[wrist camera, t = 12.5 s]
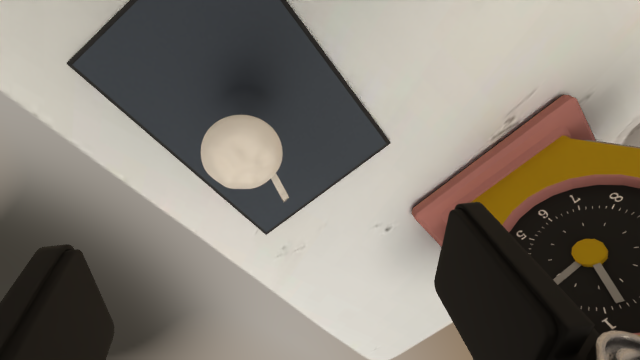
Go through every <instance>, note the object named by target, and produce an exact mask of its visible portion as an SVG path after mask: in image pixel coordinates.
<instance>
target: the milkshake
mask: <svg viewBox="0 0 640 360" xmlns="http://www.w3.org/2000/svg"><path fill="white" fill-rule="evenodd" d="M282 156H283V151H282V145H281V141H280V139H279V136H278V134H277V132H276V129H275V127H274V125H273V123H272V120H271V118H270V115H269V112H268V109H267V106H266V103H265V100H264V97H263V96H262V95H260V94H259V93H258V92H257V91H255V90H254V89H253V88H248V87H237V88H235V89H234V90H232V91H230V92H229V93H227V94H226V95H225V97H224V100H223V102H222V104H221V106H220V108H219V110H218V112H217V115H216V116H215V118H214V120H213V122H212V123H211V125H210V127H209V128H208V130H207V132H206V134H205V136H204V138H203V140H202V144H201V160H202V164H203V167H204V169H205V170H206V172H207V173H208V174H209V175H210V176H211V177H212V178H213V179H214V180H216V181H217V182H219V183H220V184H222V185H223V186H225V187H227V188H231V189H252V188H256V187H259V186H261V185H263V184H264V183H266V182H267V181H268V180H270V179H271V180H272V182H273V183H274V185H275V187H276V189H277V191H278V193H279V195H280V197H281V198H282V200H283V202H285V201H286V200H287V199H288V198H289V196H288V194H287V192H286V190H285V188H284V187H283V185H282V183H281V181H280V179H279V178H278V176H277V174H276V172H277V170H278V169H279V167H280V165H281V162H282Z"/></svg>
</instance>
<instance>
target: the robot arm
mask: <svg viewBox="0 0 640 360" xmlns="http://www.w3.org/2000/svg"><path fill="white" fill-rule="evenodd" d="M434 283H435V289H436V292H437V294H438V296H439V298H440V299H441V301H442V303H443V305H444V307H445V308H446V310H447V312H448V314H449V316H450V317H451V319H452V321H453V323H454V324H455V326H456V328H457V330H458V331H459V333H460V335H461V337H462V339H463V341H464V342H465V344H466V346H467V348H468V350H469V351H470V353H471V355H472V357H473V359H474V360H640V336H638V335H636V334H632V333H629V332H625V331H613V330H612V331H608V332H604V333H603V334H601V335H600V334H599V333H598V332H597V331H596V330H595V329H594V326H595V324H594V323H593V322H592V321H591V320H590V319H589V318H588V317H587V316H586V315H585V313H584V312H583V311H582V310H581V309H580V308H579V307H578V306H577V305H576V304H575V303H574V302H573V301H572V300H571V298H570V297H569V296H568V295H567V294H566V293H565V292H564V291H563V290H562V289H561V288H560V287H559V286H558V285H557V283H556V282H555V281H554V280H553V279H552V278H551V277H550V276H549V275H548V274H547V273H546V272H545V271H544V270H543V268H542V267H541V266H540V265H539V264H538V263H537V262H536V261H535V260H534V259H533V258H532V257H531V256H530V255H529V253H528V252H527V251H526V250H525V249H524V248H523V247H522V246H521V245H520V244H519V243H518V242H517V241H516V240H515V238H514V237H513V236H512V235H511V234H510V233H509V232H508V231H507V230H506V229H505V228H504V227H503V226H502V225H501V223H500V222H499V221H498V220H497V219H496V218H495V217H494V216H493V215H492V214H491V213H490V212H489V211H488V210H487V208H486V207H485V206H484V205H483V204H482V203H480V202H471V203H461V204H457V205H456V206H455V209H454V210H451V211H450V213H449V216H448V221H447V225H446V230H445V234H444V239H443V243H442V248H441V252H440V257H439V262H438V266H437V271H436V275H435V281H434ZM113 336H114V324H113V321H112V319H111V316H110V314H109V312H108V310H107V307H106V305H105V303H104V301H103V298H102V296H101V294H100V292H99V289H98V287H97V285H96V283H95V280H94V278H93V276H92V274H91V271H90V269H89V267H88V265H87V262H86V260H85V258H84V256H83V253H82V252H81V251H80V250H74V248H73V247H72V246H71V245H57V246H48V247H42V248H39V249H38V250H37V251H36V253H35V254H34V256H33V257H32V258H31V260H30V261H29V263H28V264H27V265H26V267H25V268H24V270H23V271H22V273H21V274H20V276H19V277H18V278H17V280H16V281H15V283H14V284H13V286H12V287H11V288H10V290H9V291H8V293H7V294H6V295H5V297H4V298H3V300H2V301H1V303H0V360H106V357H107V354H108V351H109V348H110V345H111V343H112V340H113Z"/></svg>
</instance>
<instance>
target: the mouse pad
mask: <svg viewBox="0 0 640 360" xmlns="http://www.w3.org/2000/svg"><path fill="white" fill-rule="evenodd" d="M67 64H68V65H69V66H70V67H71V68H72V69H73V70H75V71H76V72H77V73H78V74H79V75H80V76H82V77H83V78H84V79H85V80H86V81H87V82H89V83H90V84H91V85H92V86H93V87H94V88H96V89H97V90H98V91H99V92H100V93H101V94H103V95H104V96H105V97H106V98H107V99H108V100H110V101H111V102H112V103H113V104H114V105H115V106H117V107H118V108H119V109H120V110H121V111H122V112H124V113H125V114H126V115H127V116H128V117H129V118H131V119H132V120H133V121H134V122H135V123H136V124H138V125H139V126H140V127H141V128H142V129H143V130H145V131H146V132H147V133H148V134H149V135H150V136H152V137H153V138H154V139H155V140H156V141H157V142H159V143H160V144H161V145H162V146H163V147H164V148H166V149H167V150H168V151H169V152H170V153H171V154H173V155H174V156H175V157H176V158H177V159H178V160H180V161H181V162H182V163H183V164H184V165H185V166H187V167H188V168H189V169H190V170H191V171H192V172H194V173H195V174H196V175H197V176H198V177H199V178H201V179H202V180H203V181H204V182H205V183H206V184H208V185H209V186H210V187H211V188H212V189H213V190H214V191H216V192H217V193H218V194H219V195H220V196H221V197H223V198H224V199H225V200H226V201H227V202H228V203H230V204H231V205H232V206H233V207H234V208H235V209H237V210H238V211H239V212H240V213H241V214H242V215H244V216H245V217H246V218H247V219H248V220H249V221H251V222H252V223H253V224H254V225H255V226H256V227H258V228H259V229H260V230H261V231H262V232H263V233H265V234H268V233H269V232H271V231H272V230H273V229H275V228H276V227H277V226H279V225H280V224H281V223H283V222H284V221H286V220H287V219H288V218H290V217H291V216H292V215H294V214H295V213H296V212H298V211H299V210H300V209H302V208H303V207H305V206H306V205H307V204H309V203H310V202H311V201H313V200H314V199H315V198H317V197H318V196H319V195H321V194H322V193H324V192H325V191H326V190H328V189H329V188H330V187H332V186H333V185H334V184H336V183H337V182H339V181H340V180H341V179H343V178H344V177H345V176H347V175H348V174H349V173H351V172H352V171H353V170H355V169H356V168H358V167H359V166H360V165H362V164H363V163H364V162H366V161H367V160H368V159H370V158H371V157H372V156H374V155H375V154H377V153H378V152H379V151H381V150H382V149H383V148H385V147H386V146H387V145H389V144H390V141H389V140H388V139H387V137H386V136H385V134H384V133H383V132H382V130H381V129H380V128H379V126H378V125H377V124H376V122H375V121H374V119H373V118H372V117H371V115H370V114H369V113H368V111H367V110H366V109H365V107H364V106H363V105H362V103H361V102H360V100H359V99H358V98H357V96H356V95H355V94H354V92H353V91H352V90H351V88H350V87H349V86H348V84H347V83H346V81H345V80H344V79H343V77H342V76H341V75H340V73H339V72H338V71H337V69H336V68H335V66H334V65H333V64H332V62H331V61H330V60H329V58H328V57H327V56H326V54H325V53H324V52H323V50H322V49H321V47H320V46H319V45H318V43H317V42H316V41H315V39H314V38H313V37H312V35H311V34H310V33H309V31H308V30H307V28H306V27H305V26H304V24H303V23H302V22H301V20H300V19H299V18H298V16H297V15H296V13H295V12H294V11H293V9H292V8H291V7H290V5H289V4H288V3H287V1H286V0H130V1H129V2H128V3H127V4H126V5H125V6H124V7H123V8H122V9H121V10H120V11H119V12H118V13H117V14H116V15H115V16H114V17H113V18H112V19H111V20H110V21H109V22H108V23H107V24H106V25H105V26H104V27H103V28H102V29H101V30H100V31H99V32H98V33H97V34H96V35H95V36H94V37H93V38H92V39H91V40H90V41H89V42H88V43H87V44H86V45H85V46H84V47H82V48H81V49H80V50H79V51H78V52H77V53H76V54H75V55H74V56H73V57H72V58H71V59H70V60H69V61H68V62H67ZM237 87H248V88H253V89H254V90H255V91H257V92H258V93H259V94H260V95H262V96H263V97H264V100H265V103H266V106H267V109H268V112H269V115H270V118H271V120H272V123H273V125H274V127H275V129H276V132H277V134H278V136H279V139H280V141H281V145H282V151H283V156H282V162H281V165H280V167H279V169H278V170H277V172H276V174H277V176H278V178H279V179H280V181H281V183H282V185H283V187H284V188H285V190H286V192H287V194H288V196H289V198H288V199H287V200H286V201H285V202H283V200H282V198H281V197H280V195H279V193H278V191H277V189H276V187H275V185H274V183H273V182H272V180H271V179H270V180H268V181H267V182H266V183H264V184H263V185H261V186H259V187H256V188H252V189H231V188H227V187H225V186H223V185H222V184H220V183H219V182H217V181H216V180H214V179H213V178H212V177H211V176H210V175H209V174H208V173H207V172H206V170H205V169H204V167H203V164H202V160H201V144H202V140H203V138H204V136H205V134H206V132H207V130H208V128H209V127H210V125H211V123H212V122H213V120H214V118H215V116H216V115H217V112H218V110H219V108H220V106H221V104H222V102H223V100H224V97H225V95H226V94H227V93H229V92H230V91H232V90H234V89H235V88H237Z"/></svg>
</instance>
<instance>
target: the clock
mask: <svg viewBox="0 0 640 360" xmlns="http://www.w3.org/2000/svg"><path fill="white" fill-rule="evenodd" d="M471 202H480V203H482V204H483V205H484V206H485V207H486V208H487V210H488V211H489V212H490V213H491V214H492V215H493V216H494V217H495V218H496V219H497V220H498V221H499V222H500V223H501V225H502V226H503V227H504V228H505V229H506V230H507V231H508V232H509V233H510V234H511V235H512V236H513V237H514V238H515V240H516V241H517V242H518V243H519V244H520V245H521V246H522V247H523V248H524V249H525V250H526V251H527V252H528V253H529V255H530V256H531V257H532V258H533V259H534V260H535V261H536V262H537V263H538V264H539V265H540V266H541V267H542V268H543V270H544V271H545V272H546V273H547V274H548V275H549V276H550V277H551V278H552V279H553V280H554V281H555V282H556V283H557V285H558V286H559V287H560V288H561V289H562V290H563V291H564V292H565V293H566V294H567V295H568V296H569V297H570V298H571V300H572V301H573V302H574V303H575V304H576V305H577V306H578V307H579V308H580V309H581V310H582V311H583V312H584V313H585V315H586V316H587V317H588V318H589V319H590V320H591V321H592V322H593V323H594V324H595V326H594V329H595V330H596V331H597V332H598V333H599V334H600V335H601V334H603V333H604V332H608V331H612V330H613V331H625V332H629V333H632V334H636V335H638V336H640V147H634V146H627V145H620V144H613V143H606V142H599V141H596V140H595V138H594V135H593V133H592V131H591V129H590V127H589V125H588V123H587V120H586V118H585V116H584V114H583V112H582V110H581V108H580V105H579V103H578V101H577V99H576V98H574V97H572V96H569V95H562V96H561V97H560V98H558V99H557V100H556V101H554V102H553V103H552V104H550V105H549V106H548V107H546V108H545V109H544V110H542V111H541V112H540V113H538V114H537V115H536V116H534V117H533V118H532V119H530V120H529V121H528V122H526V123H525V124H524V125H522V126H521V127H520V128H518V129H517V130H516V131H515V132H513V133H512V134H511V135H509V136H508V137H507V138H505V139H504V140H503V141H501V142H500V143H499V144H497V145H496V146H495V147H493V148H492V149H491V150H489V151H488V152H487V153H485V154H484V155H483V156H481V157H480V158H479V159H477V160H476V161H475V162H473V163H472V164H471V165H469V166H468V167H467V168H465V169H464V170H463V171H461V172H460V173H459V174H457V175H456V176H455V177H453V178H452V179H451V180H449V181H448V182H447V183H446V184H444V185H443V186H442V187H440V188H439V189H438V190H436V191H435V192H434V193H432V194H431V195H430V196H428V197H427V198H426V199H424V200H423V201H422V202H420V203H419V204H418V205H416V206H415V207H414V208H413V210H412V215H413V216H414V218H415V219H416V220H417V221H418V222H419V223H420V224H421V226H422V227H423V228H424V229H425V230H426V231H427V232H428V233H429V234H430V235H431V236H432V237H433V238H434V239H435V240H436V241H437V243H438V244H439V245H440V246H441V247H442V243H443V239H444V234H445V230H446V225H447V221H448V216H449V213H450V211H451V210H454V209H455V206H456V205H457V204H461V203H471ZM473 360H474V359H473Z"/></svg>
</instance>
